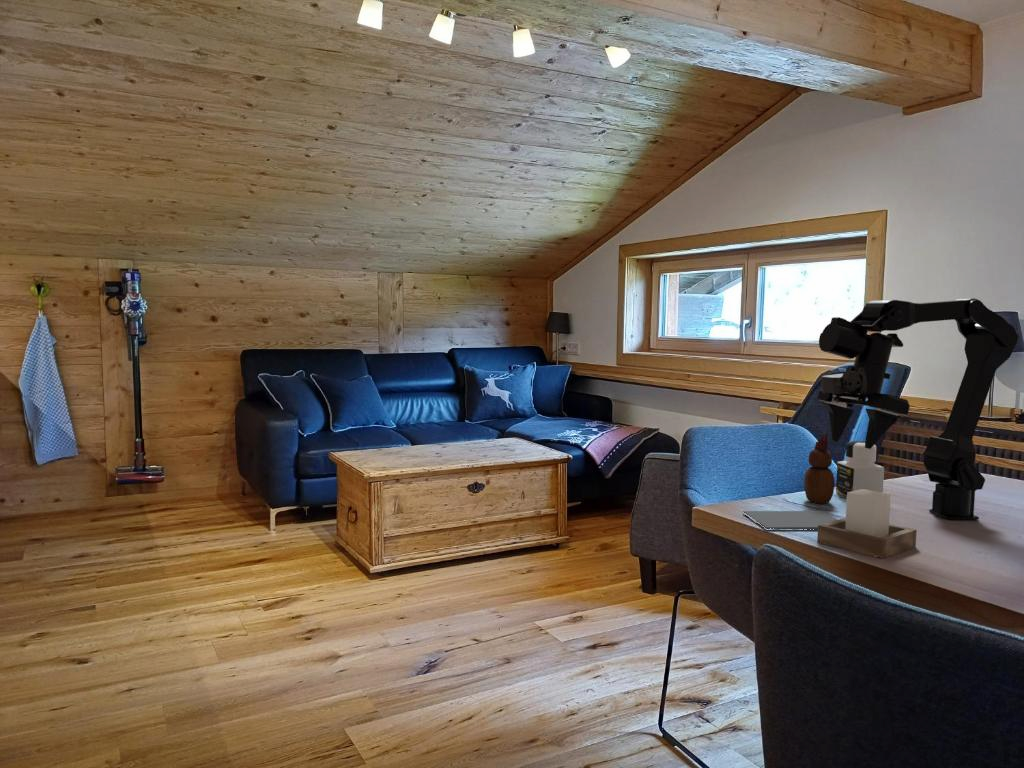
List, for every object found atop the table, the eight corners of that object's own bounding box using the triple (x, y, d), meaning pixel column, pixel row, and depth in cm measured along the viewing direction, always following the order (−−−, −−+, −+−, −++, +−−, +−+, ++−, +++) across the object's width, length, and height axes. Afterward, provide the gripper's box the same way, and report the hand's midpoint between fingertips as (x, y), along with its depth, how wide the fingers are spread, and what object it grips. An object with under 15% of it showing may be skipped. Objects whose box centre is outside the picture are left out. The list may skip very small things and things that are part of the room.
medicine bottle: (835, 492, 174) (837, 439, 173) (865, 492, 175) (868, 439, 174) (851, 499, 167) (854, 444, 166) (883, 499, 168) (886, 444, 167)
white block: (859, 539, 136) (862, 488, 136) (887, 545, 132) (890, 494, 132) (844, 543, 133) (847, 492, 133) (872, 550, 129) (875, 498, 129)
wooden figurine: (836, 506, 160) (839, 435, 159) (806, 505, 161) (809, 433, 160) (829, 499, 167) (832, 430, 166) (801, 497, 168) (804, 429, 167)
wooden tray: (851, 531, 141) (852, 515, 141) (915, 546, 132) (916, 529, 132) (817, 542, 134) (818, 525, 134) (882, 558, 125) (883, 540, 125)
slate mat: (821, 513, 154) (821, 510, 154) (851, 530, 142) (851, 527, 142) (742, 514, 153) (743, 511, 153) (766, 530, 141) (766, 527, 141)
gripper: (804, 353, 153) (785, 429, 153) (870, 356, 135) (848, 442, 135) (850, 366, 156) (832, 441, 156) (921, 371, 138) (900, 455, 138)
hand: (850, 444), depth 146 cm, fingers open, 9 cm apart
